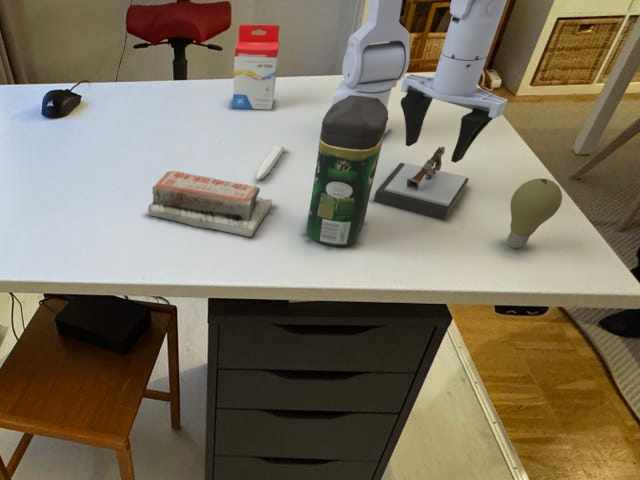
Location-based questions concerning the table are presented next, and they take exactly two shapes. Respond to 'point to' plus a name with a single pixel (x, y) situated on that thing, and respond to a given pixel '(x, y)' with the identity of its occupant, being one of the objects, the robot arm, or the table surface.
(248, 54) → the ink box
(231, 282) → the table surface
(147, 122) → the table surface
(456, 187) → the scale
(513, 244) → the light bulb
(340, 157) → the coffee jar
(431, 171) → the wooden post with brackets
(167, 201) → the packaged product
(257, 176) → the pen
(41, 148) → the table surface
